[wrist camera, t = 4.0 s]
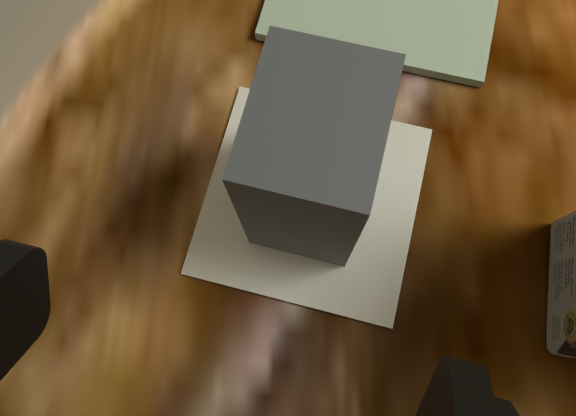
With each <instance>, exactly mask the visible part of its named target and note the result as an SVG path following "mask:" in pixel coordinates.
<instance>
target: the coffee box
mask: <svg viewBox="0 0 576 416" xmlns="http://www.w3.org/2000/svg"><path fill="white" fill-rule="evenodd" d="M546 344H547V349H548V351H549V352H550V353H552V354H554V355H559V356H564V357H569V358H574V359H576V211H574V212H572V213H570V214H568V215H566V216H564V217H562V218H560V219H558V220H556V221H554V222H553V223H552V225H551V238H550V261H549V282H548V306H547V331H546Z"/></svg>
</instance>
